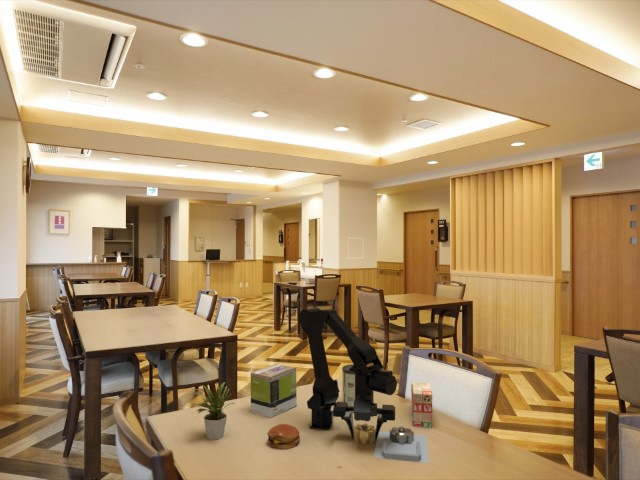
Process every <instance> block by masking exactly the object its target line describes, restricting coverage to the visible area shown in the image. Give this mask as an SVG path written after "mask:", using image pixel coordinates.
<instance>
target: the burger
mask: <svg viewBox="0 0 640 480" xmlns="http://www.w3.org/2000/svg"><path fill="white" fill-rule="evenodd" d="M267 437H268V439H267V441H268V442H269V444H270V446H272V447H273V448H278V449H279V450H289V449H292V448H295V447H296V446H297V444H298V443H299V442H300V440H301V435H300V431H299V429H298V428H297V427H296V426H294V425H291V424H287V423H280V424H277V425H275V426H272V427H271V428H270V429H269V430H268V432H267Z"/></svg>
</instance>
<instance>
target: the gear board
mask: <svg viewBox="0 0 640 480" xmlns="http://www.w3.org/2000/svg"><path fill="white" fill-rule="evenodd" d="M373 458H374V459H383V460H393V461H394V460H395V461H404V462H413V463H424V464H425V463H426V464H430V457H429V449H428V440H427V435H426V434H425V435H424V434H416V433H415V434H414V441H412V443H411V444H404V445H402V444H399V443H394V442H392V441H391V439H390V431H379V434H378V437H377V440H375V449H374V455H373Z"/></svg>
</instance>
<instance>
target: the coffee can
mask: <svg viewBox="0 0 640 480" xmlns="http://www.w3.org/2000/svg"><path fill="white" fill-rule="evenodd" d="M353 365H354V364H353V363H352V364H346V365H344V366H342V368H341V370H342V400H341V402H348V406H353V407H354V401H355V372H352V371H349V369H350V368H351V367H352V366H353Z"/></svg>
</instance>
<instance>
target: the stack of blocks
mask: <svg viewBox="0 0 640 480" xmlns="http://www.w3.org/2000/svg"><path fill="white" fill-rule="evenodd" d="M410 388H411V389H410V391H411V416H412V427H418V428H419V427H421V428H430V429H431V428H433V391H432V387H431V384H430V382H417V381H412V382H411V385H410Z"/></svg>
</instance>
